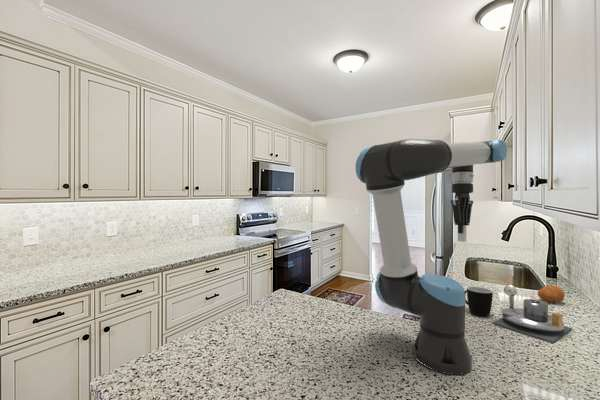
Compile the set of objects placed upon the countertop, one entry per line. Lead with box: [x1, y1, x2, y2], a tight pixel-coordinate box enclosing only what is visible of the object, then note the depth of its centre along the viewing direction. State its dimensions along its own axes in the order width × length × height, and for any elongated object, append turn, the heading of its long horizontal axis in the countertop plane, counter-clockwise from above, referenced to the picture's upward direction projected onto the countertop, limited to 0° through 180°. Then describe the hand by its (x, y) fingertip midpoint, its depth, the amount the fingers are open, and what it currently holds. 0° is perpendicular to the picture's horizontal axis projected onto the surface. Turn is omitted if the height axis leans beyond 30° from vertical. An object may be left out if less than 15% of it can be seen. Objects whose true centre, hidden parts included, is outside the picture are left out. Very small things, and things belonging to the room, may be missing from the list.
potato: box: [537, 285, 565, 303], centre depth 135 cm, size 9×11×8 cm
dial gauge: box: [503, 284, 518, 308], centre depth 120 cm, size 4×4×12 cm
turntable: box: [501, 307, 565, 332], centre depth 107 cm, size 18×18×6 cm
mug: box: [464, 286, 493, 318], centre depth 120 cm, size 12×9×10 cm
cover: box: [522, 298, 549, 323], centre depth 105 cm, size 7×7×7 cm
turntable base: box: [491, 317, 573, 344], centre depth 106 cm, size 20×18×2 cm
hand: (462, 241), depth 116 cm, fingers closed
